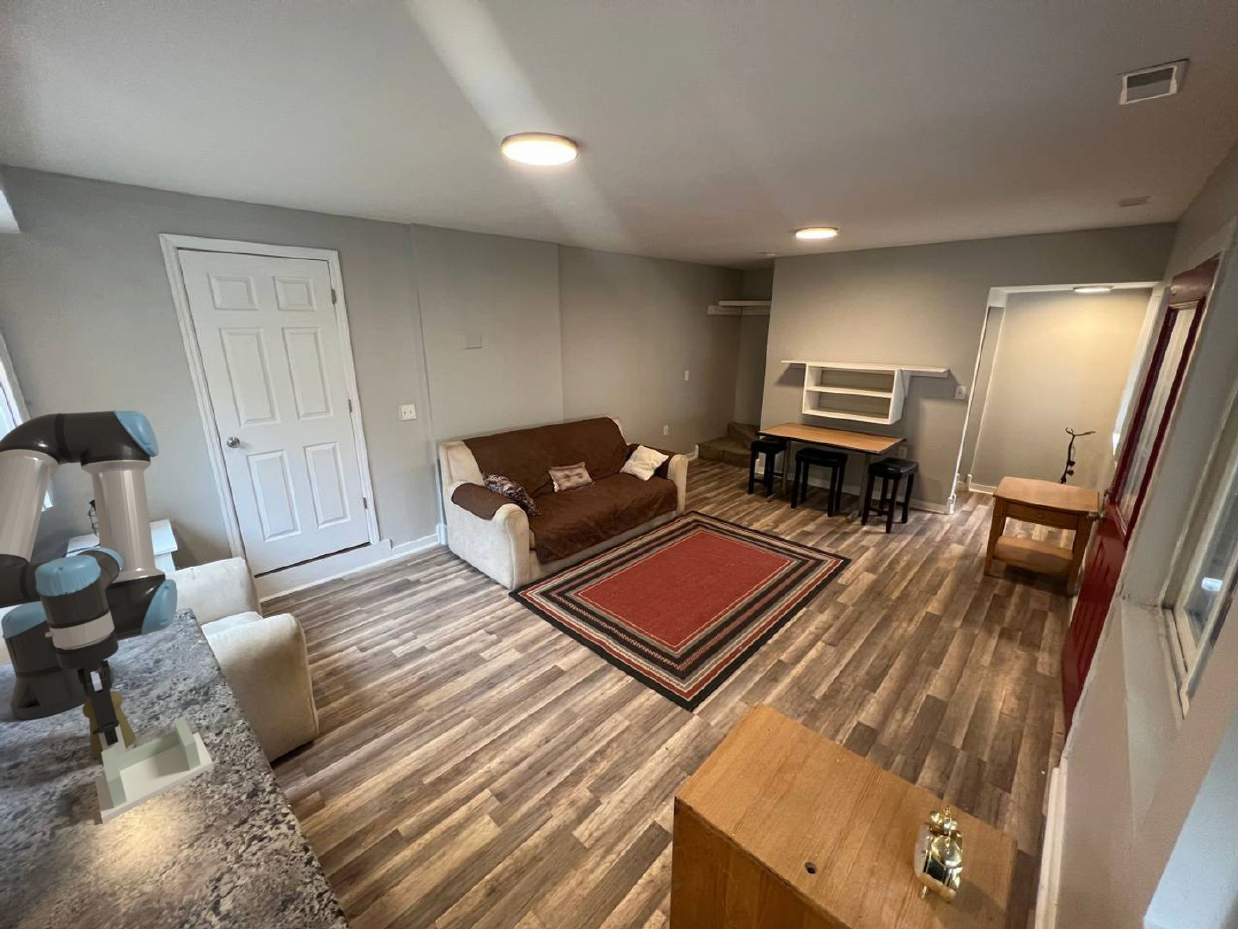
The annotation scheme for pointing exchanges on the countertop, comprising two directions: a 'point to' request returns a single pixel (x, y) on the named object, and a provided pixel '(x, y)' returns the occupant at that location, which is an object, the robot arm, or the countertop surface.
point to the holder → (150, 770)
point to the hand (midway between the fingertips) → (113, 744)
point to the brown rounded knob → (95, 739)
